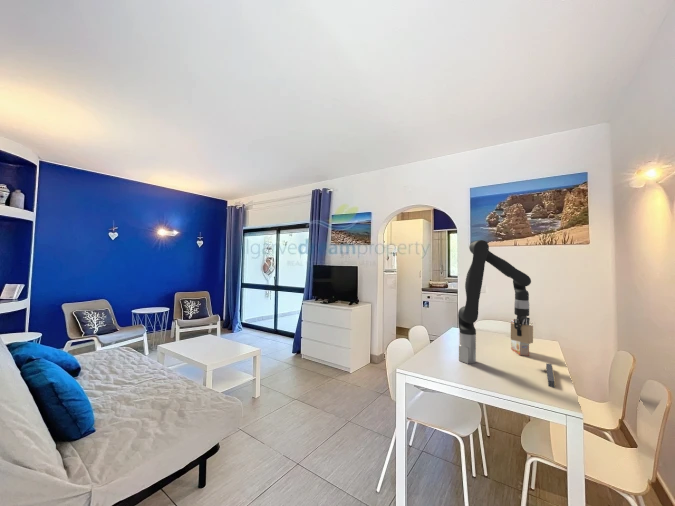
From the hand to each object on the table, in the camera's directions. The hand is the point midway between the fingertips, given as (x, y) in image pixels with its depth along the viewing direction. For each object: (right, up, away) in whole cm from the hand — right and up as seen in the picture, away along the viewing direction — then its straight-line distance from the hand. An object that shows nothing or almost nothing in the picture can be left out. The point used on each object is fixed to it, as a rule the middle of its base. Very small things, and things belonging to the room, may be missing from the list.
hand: (521, 335), depth 167 cm
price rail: (+3, -17, -19) cm, 26 cm away
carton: (0, -4, 0) cm, 4 cm away
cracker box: (+13, -18, +21) cm, 31 cm away
